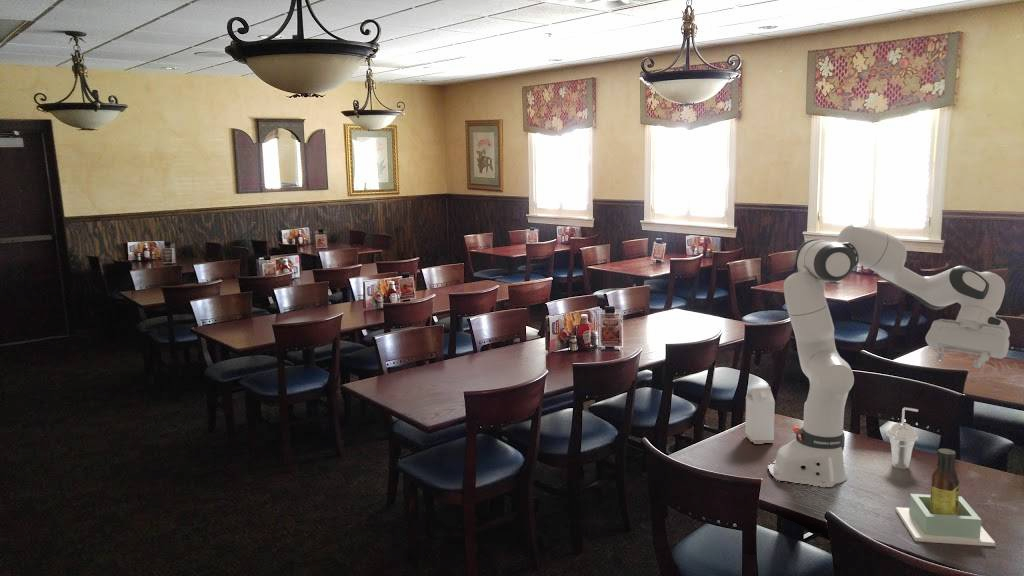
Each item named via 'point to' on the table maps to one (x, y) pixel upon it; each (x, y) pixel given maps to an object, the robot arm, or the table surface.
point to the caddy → (943, 523)
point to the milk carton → (760, 414)
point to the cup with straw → (902, 442)
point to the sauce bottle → (945, 485)
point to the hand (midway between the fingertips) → (957, 363)
